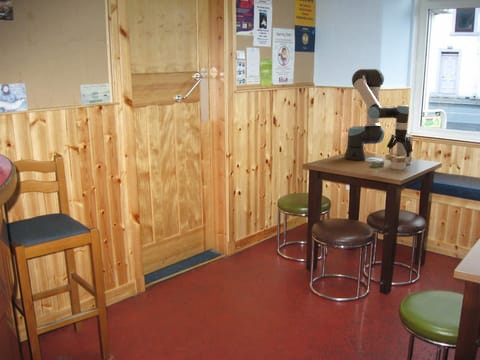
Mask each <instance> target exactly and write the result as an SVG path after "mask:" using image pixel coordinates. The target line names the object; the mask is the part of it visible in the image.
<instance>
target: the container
mask: <svg viewBox="0 0 480 360" xmlns="http://www.w3.org/2000/svg"><path fill="white" fill-rule="evenodd" d="M406 137H410V143H411V147H412V148H413V141H414V140H413V139H414V136H413V135H411V134H406ZM405 152H406V150H405V148H404V146H403V144H402V143H399V142H397V143H396V153H395V154H403V155H405ZM409 156H411V157H412V152H410V155H409ZM411 163H412V160H411V161H408V162H406V166H408V165H410V164H411Z"/></svg>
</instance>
